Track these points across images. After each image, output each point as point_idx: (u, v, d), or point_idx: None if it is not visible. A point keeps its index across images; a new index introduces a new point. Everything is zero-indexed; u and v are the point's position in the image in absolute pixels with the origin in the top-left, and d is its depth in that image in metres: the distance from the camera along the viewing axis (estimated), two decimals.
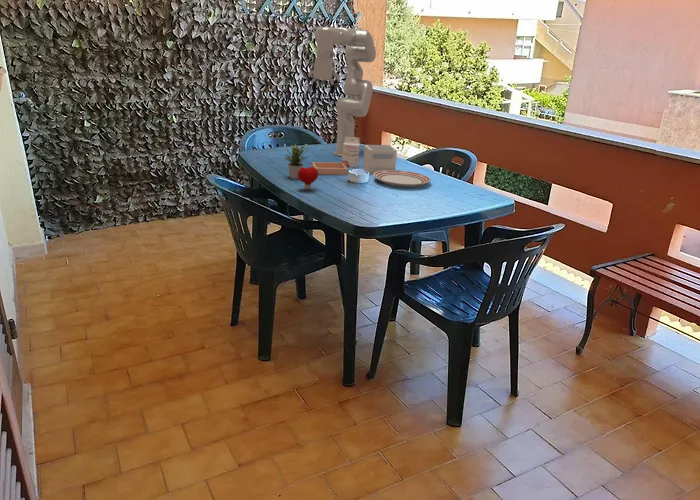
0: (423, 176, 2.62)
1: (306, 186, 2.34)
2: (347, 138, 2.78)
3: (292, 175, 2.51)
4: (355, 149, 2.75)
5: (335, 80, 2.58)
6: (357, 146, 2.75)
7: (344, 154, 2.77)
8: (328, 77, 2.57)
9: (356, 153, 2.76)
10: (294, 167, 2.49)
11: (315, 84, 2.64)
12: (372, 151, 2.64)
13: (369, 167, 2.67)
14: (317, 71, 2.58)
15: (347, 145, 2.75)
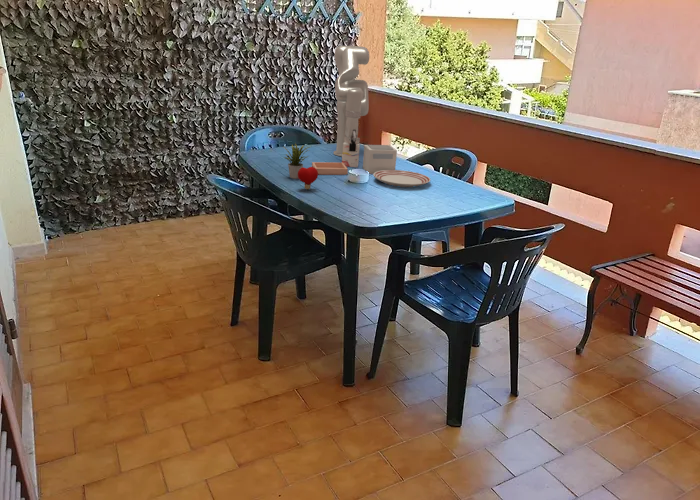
0: (423, 176, 2.62)
1: (306, 186, 2.34)
2: (347, 138, 2.78)
3: (292, 175, 2.51)
4: None
5: None
6: (357, 146, 2.75)
7: (344, 154, 2.77)
8: None
9: (356, 153, 2.76)
10: (294, 167, 2.49)
11: None
12: (372, 151, 2.64)
13: (369, 167, 2.67)
14: None
15: (347, 145, 2.75)
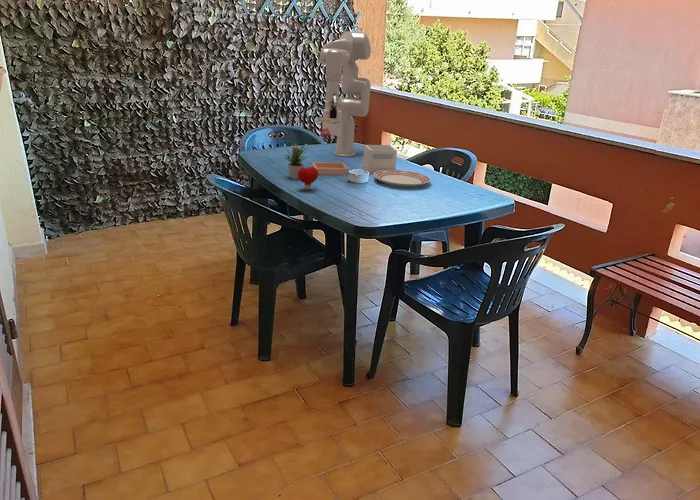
0: (423, 176, 2.62)
1: (306, 186, 2.34)
2: (327, 104, 2.58)
3: (292, 175, 2.51)
4: None
5: None
6: (338, 112, 2.54)
7: (324, 121, 2.57)
8: None
9: (337, 120, 2.56)
10: (294, 167, 2.49)
11: None
12: (372, 151, 2.64)
13: (369, 167, 2.67)
14: None
15: (327, 111, 2.55)
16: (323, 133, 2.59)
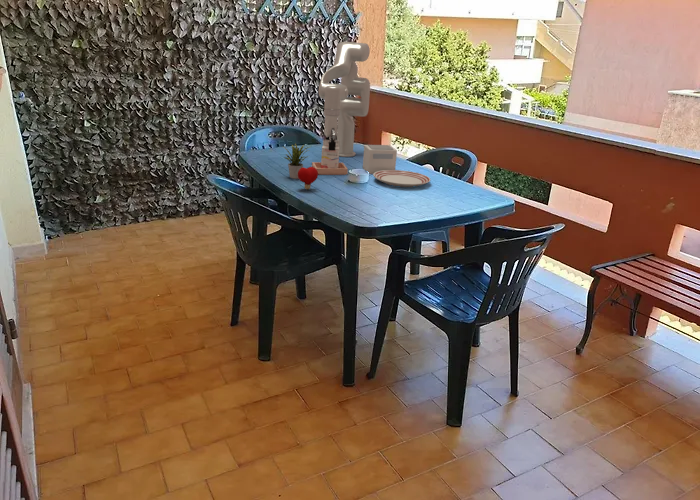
0: (423, 176, 2.62)
1: (306, 186, 2.34)
2: (326, 141, 2.64)
3: (292, 175, 2.51)
4: (335, 153, 2.62)
5: None
6: (337, 149, 2.61)
7: (323, 158, 2.63)
8: None
9: (336, 157, 2.63)
10: (294, 167, 2.49)
11: None
12: (372, 151, 2.64)
13: (369, 167, 2.67)
14: None
15: (326, 149, 2.61)
16: None
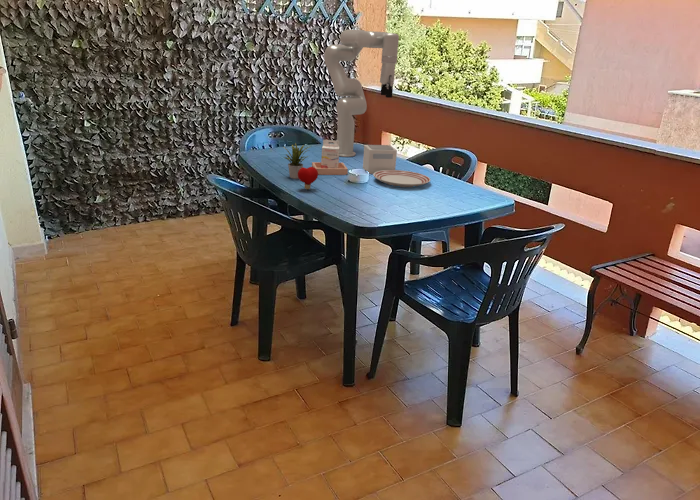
0: (423, 176, 2.62)
1: (306, 186, 2.34)
2: (326, 141, 2.64)
3: (292, 175, 2.51)
4: (335, 153, 2.62)
5: None
6: (337, 149, 2.61)
7: (323, 158, 2.63)
8: None
9: (336, 157, 2.63)
10: (294, 167, 2.49)
11: None
12: (372, 151, 2.64)
13: (369, 167, 2.67)
14: None
15: (326, 149, 2.61)
16: None
